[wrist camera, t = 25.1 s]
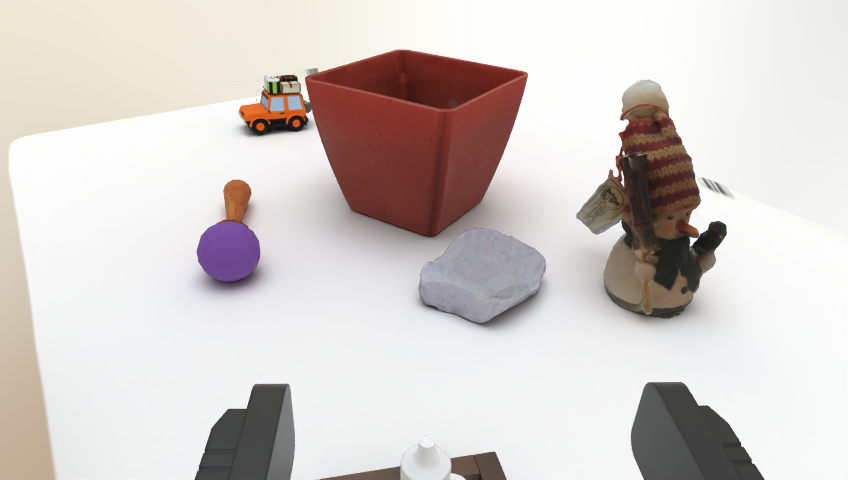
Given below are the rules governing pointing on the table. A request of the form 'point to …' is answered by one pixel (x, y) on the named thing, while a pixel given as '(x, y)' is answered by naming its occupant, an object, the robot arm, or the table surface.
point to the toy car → (277, 106)
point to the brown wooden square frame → (476, 469)
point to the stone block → (482, 275)
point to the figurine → (652, 212)
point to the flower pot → (415, 133)
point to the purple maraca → (230, 239)
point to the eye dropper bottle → (427, 462)
